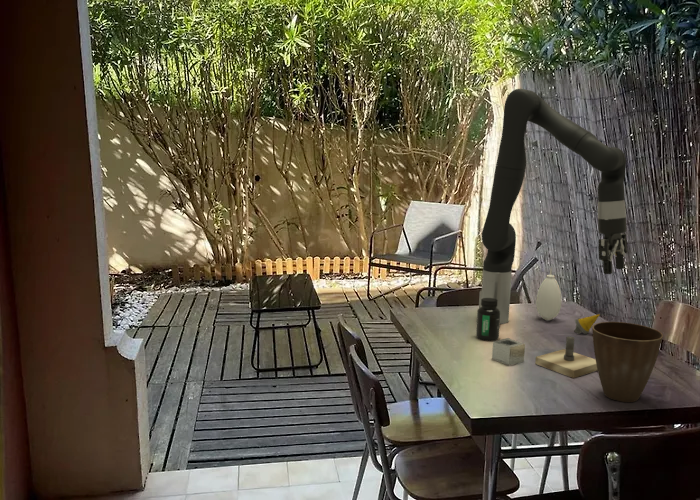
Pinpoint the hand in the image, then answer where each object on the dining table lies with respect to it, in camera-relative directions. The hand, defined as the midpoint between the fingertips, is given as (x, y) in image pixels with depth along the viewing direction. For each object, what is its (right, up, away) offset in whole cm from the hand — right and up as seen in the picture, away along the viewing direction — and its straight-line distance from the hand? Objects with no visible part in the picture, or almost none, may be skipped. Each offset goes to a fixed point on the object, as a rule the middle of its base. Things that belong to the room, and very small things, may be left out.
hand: (614, 271), depth 179 cm
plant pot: (-14, -28, -36) cm, 48 cm away
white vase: (-11, -18, +27) cm, 34 cm away
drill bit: (-4, -20, +13) cm, 24 cm away
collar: (-34, -24, -13) cm, 44 cm away
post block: (-19, -25, -17) cm, 36 cm away
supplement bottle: (-36, -21, +7) cm, 42 cm away
